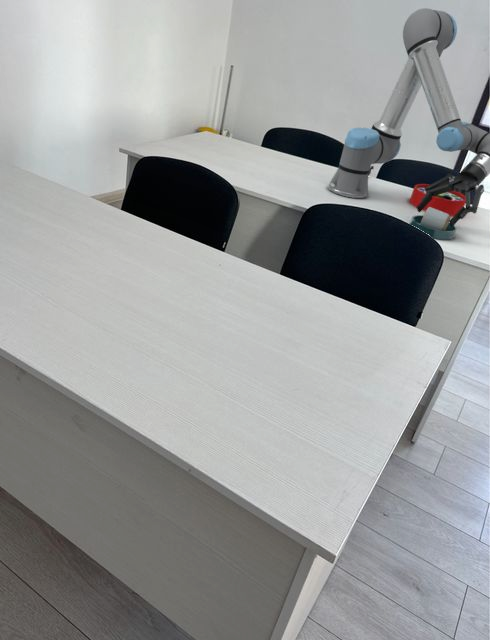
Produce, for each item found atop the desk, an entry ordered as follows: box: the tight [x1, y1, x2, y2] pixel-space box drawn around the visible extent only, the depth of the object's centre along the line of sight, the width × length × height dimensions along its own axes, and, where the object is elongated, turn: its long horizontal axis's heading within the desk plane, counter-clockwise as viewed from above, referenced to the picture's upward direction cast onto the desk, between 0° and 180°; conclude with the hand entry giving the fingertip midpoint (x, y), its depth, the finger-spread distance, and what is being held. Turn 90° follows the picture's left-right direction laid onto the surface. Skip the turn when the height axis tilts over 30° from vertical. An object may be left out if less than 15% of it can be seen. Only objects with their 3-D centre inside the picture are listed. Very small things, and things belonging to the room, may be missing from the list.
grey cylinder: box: [420, 207, 452, 231], centre depth 198 cm, size 11×8×8 cm
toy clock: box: [409, 183, 466, 217], centre depth 226 cm, size 20×6×20 cm
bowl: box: [409, 214, 458, 241], centre depth 199 cm, size 15×15×3 cm
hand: (434, 216), depth 196 cm, fingers open, 13 cm apart
